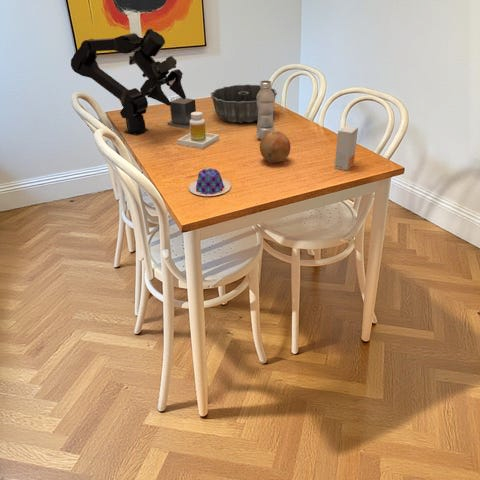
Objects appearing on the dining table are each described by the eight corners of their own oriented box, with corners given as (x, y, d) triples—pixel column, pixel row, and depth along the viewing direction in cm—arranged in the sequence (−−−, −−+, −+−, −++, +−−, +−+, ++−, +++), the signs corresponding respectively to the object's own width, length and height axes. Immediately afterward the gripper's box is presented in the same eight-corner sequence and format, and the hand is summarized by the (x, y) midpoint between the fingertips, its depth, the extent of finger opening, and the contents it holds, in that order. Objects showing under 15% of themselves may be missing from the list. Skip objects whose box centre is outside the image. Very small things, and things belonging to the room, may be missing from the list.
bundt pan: (218, 130, 174) (217, 103, 168) (206, 111, 195) (205, 87, 190) (284, 123, 179) (285, 97, 173) (265, 105, 200) (265, 82, 195)
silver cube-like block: (167, 125, 180) (164, 102, 175) (180, 118, 186) (178, 96, 182) (188, 128, 176) (186, 105, 171) (201, 122, 182) (199, 99, 177)
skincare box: (347, 171, 138) (351, 132, 132) (334, 168, 140) (337, 130, 134) (354, 164, 143) (358, 126, 136) (341, 161, 145) (345, 124, 138)
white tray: (178, 144, 161) (177, 139, 160) (195, 135, 169) (194, 130, 168) (203, 149, 157) (202, 144, 156) (219, 139, 164) (219, 134, 163)
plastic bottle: (262, 143, 160) (262, 85, 149) (252, 138, 165) (252, 81, 154) (277, 140, 162) (279, 82, 152) (268, 135, 168) (269, 78, 157)
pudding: (182, 185, 133) (181, 168, 130) (220, 177, 138) (219, 160, 135) (198, 202, 124) (197, 184, 121) (238, 192, 128) (237, 175, 126)
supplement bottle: (207, 141, 161) (206, 114, 156) (192, 143, 160) (190, 116, 154) (204, 137, 165) (202, 110, 160) (189, 138, 164) (187, 111, 159)
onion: (291, 156, 149) (292, 126, 144) (288, 168, 141) (289, 137, 136) (262, 154, 151) (262, 125, 146) (257, 166, 143) (257, 135, 138)
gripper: (142, 54, 145) (174, 93, 146) (175, 44, 159) (204, 80, 160) (126, 77, 152) (157, 114, 154) (159, 66, 166) (187, 100, 168)
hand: (177, 101), depth 159 cm, fingers open, 9 cm apart
